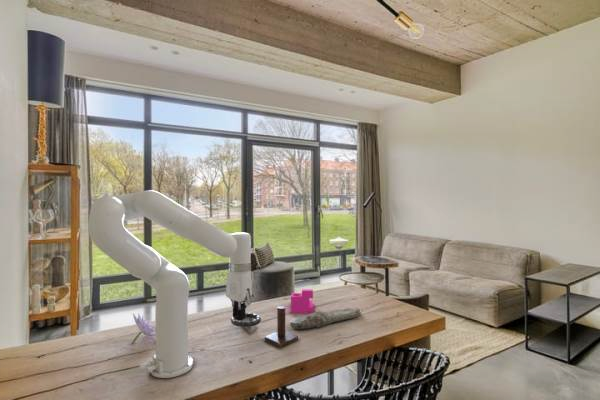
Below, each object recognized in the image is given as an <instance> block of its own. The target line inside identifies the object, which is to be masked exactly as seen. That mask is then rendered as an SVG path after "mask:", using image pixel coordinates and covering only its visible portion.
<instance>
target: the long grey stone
mask: <svg viewBox="0 0 600 400" xmlns="http://www.w3.org/2000/svg"><path fill="white" fill-rule="evenodd" d="M361 315H362V312H361V309H360V308H358V307H344V308H339V309H332V310H328V311H320V310H319V311H313V313H304V314H303V315H300V316H297V317H295V318H293V319H291V320H290V322H289V326H290V327H291V328H293V329H297V330H299V329H300V330H301V329H302V330H303V329H313V328H316V329H317V328H320V327H323V326H326V325H330V324H332V323H334V322H341V321H345V320H352V319H355V318H358V317H359V316H361Z"/></svg>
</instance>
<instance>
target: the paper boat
mask: <svg viewBox="0 0 600 400" xmlns="http://www.w3.org/2000/svg"><path fill="white" fill-rule="evenodd" d="M254 320H255V319H254V318H245V319H243V320H240V321H238V320H236V321H238V322H251V321H254ZM243 329H245V330H246V332H248V333H249V334H250V335H251V334H252V333H253V332H254V331H255V330H256V329H257V325H255V326H252V327H243Z"/></svg>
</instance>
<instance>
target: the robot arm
mask: <svg viewBox="0 0 600 400" xmlns="http://www.w3.org/2000/svg"><path fill="white" fill-rule="evenodd" d="M140 218H146V219H148V220H150V221H151V222H153V223H155V224H157V225H158V226H161V227H162V228H164V229H166V230H168V231H169V232H171V233H173V234H175V235H176V236H179V237H180V238H182V239H185V240H188V241H191V242H193V243H196V244H197V245H199V246H201V247H203V248H205V249H207V251H208V252H209V253H211V254H213V255H216V256H219V257H220V258H226V259H227V258H229V259H228V260H229V262H228V271H227V276H226V285H225V296H226V297H227V298H228V299H229V300H230V301H231V307H232V317H234V316H235V315H237V320H238V321H239V322H241V321H240V320H243V319H245V313H246V309H247V307H248V306H250V305H252V302H251V301H252V298H253V297H252V296H253V282H252V281H253V280H252V274H251V273H252V272H251V268H252V267H251V265H252V264H251V259H252V258H251V257H252V256H251V255H252V254H251V253H252V235H251V234H250V233H249V232H233V233H228V232H226V231H225V230H223V229H221V228H219V227H218V226H217V225H215V224H213V223H211V222H209V221H207V220H206V219H204V218H202V217H201V216H199V215H198V214H196V213H194V212H192V211H191V210H189V209H188V208H186V207H184V206H183V205H181V204H179V203H177V202H176V201H174V200H173V199H171V198H169V197H167V196H166V195H164V194H163V193H161V192H159V191H156V190H153V189H149V190H142V191H135V192H131V193H124V194H118V195H117V194H116V195H110V196H103V197H99V198H98V199H96V200H95V201H94V202H93V203H92V204H91V207H90V212H89V217H88V222H87V227H88V228H87V229H88V230H87V231H88V234H89V237H90V240H91V241H92V243H93V245H95V247H96V248H98V250H99V251H101V252H102V253H104V254H105V255H106V256H108V257H109V258H110V259H111V260H113V261H114V262H115V263H116V264H118V265H119V266H120V267H122V268H123V269H124V270H126V271H127V272H128V273H129V274H130V275H131V276H133V277H134V278H137V279H140V280H141V281H143V282H144V283H145V284H147V285H148V286H150V287H151V288H152V289H153V290H154V291H155V296H156V297H155V309H154V310H155V311H154V312H155V314H154V315H155V317H154V319H155V321H154V322H155V326H156V329H155V331H156V332H155V333H156V335H155V339H156V341H155V354H154V355H152V359H150V360H149V361H148V362H145V363H141V364H140V365H138V370H139V372H140V373H142V372H144V371H146V372H147V373H151V375H152V376H153V377H155V378H157V379H171V378H176V377H178V376H182V375H184V374H186V373H187V372H189V371H190V370H191V369H192V368H193V366H194V359H193V357H192V356H190V355H189V312H188V311H189V310H188V308H189V306H188V305H189V294H190V281H189V278H188V276H187V274H185V272H184V271H183V270H182V269H180V268H178V267H177V266H176V265H174V264H173V263H171V262H170V261H169V260H168V259H166V258H165V257H164V256H162V255H161V254H160V253H159V252H157V251H156V250H155V249H154V248H152V246H149V245H147V244H145V243H144V242H142V241H141V240H140V239H138V238H137V237H136V236H135V235H134V234H132V233H131V232H130V231H129V230H128V229H127V228H126V226H125V225H124V222H125V221H132V220H135V219H140ZM237 320H236V321H237Z"/></svg>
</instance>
